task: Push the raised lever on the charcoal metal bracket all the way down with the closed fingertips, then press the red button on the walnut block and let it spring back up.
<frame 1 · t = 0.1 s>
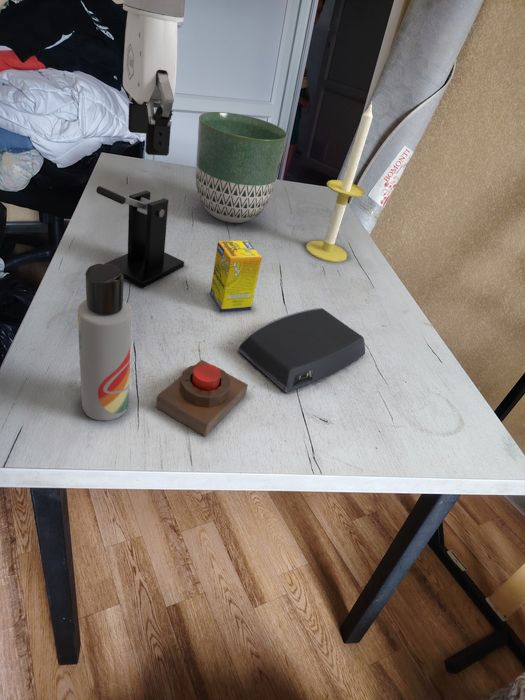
hand: (147, 143, 70), 25 cm above the table, tool pointing down, fingers open, 9 cm apart
supplement box: (229, 303, 87), on the table
lever bracket: (145, 268, 91), on the table
toaster lever: (132, 202, 79), point 14 cm above the table, hinge at 25.0°
candle: (326, 252, 113), on the table
lotion bottle: (105, 406, 62), on the table
button block: (202, 401, 66), on the table
cancel button: (206, 377, 63), point 4 cm above the table, slide at 0.1 cm
planter: (229, 218, 117), on the table
hard drive: (302, 354, 79), on the table
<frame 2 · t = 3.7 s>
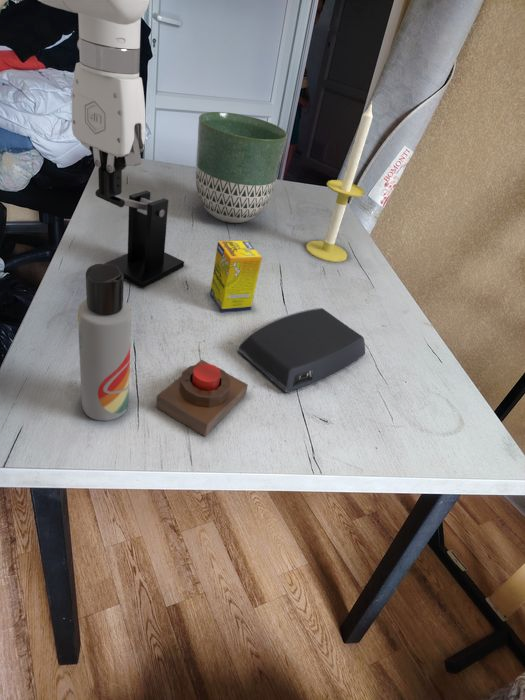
hand: (110, 193, 74), 16 cm above the table, tool pointing down, fingers closed
toaster lever: (131, 203, 79), point 14 cm above the table, hinge at 22.1°, touching gripper
everything else where it was.
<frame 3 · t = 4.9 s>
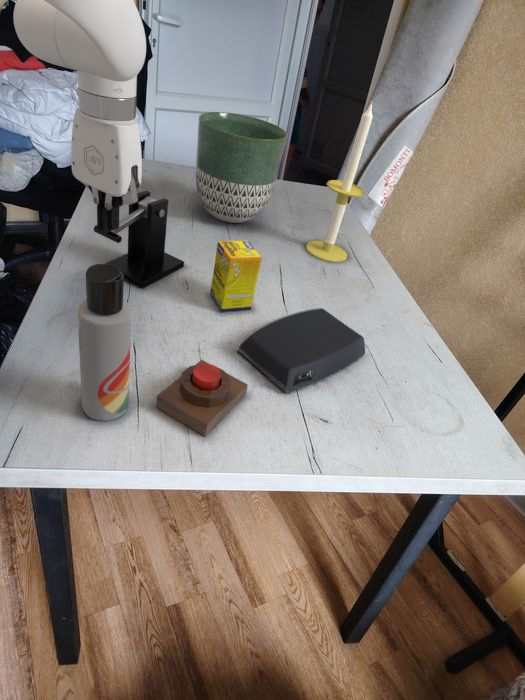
hand: (108, 228, 77), 11 cm above the table, tool pointing down, fingers closed
toaster lever: (130, 219, 81), point 11 cm above the table, hinge at -12.2°, touching gripper
everything else where it was.
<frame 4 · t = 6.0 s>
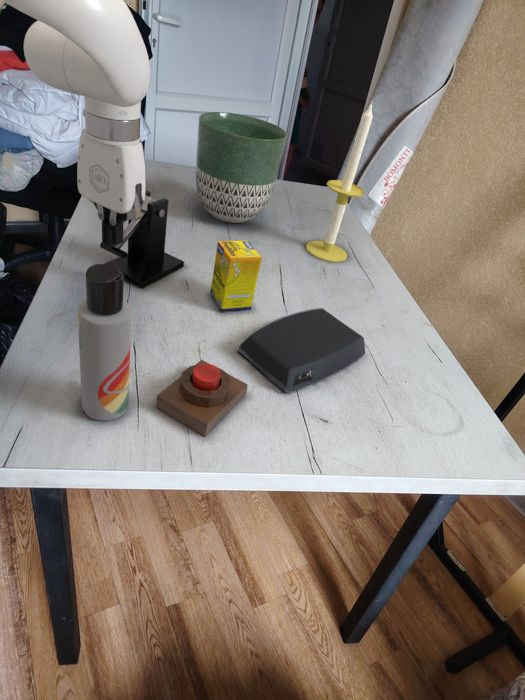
hand: (112, 242, 79), 8 cm above the table, tool pointing down, fingers closed
toaster lever: (132, 226, 82), point 10 cm above the table, hinge at -32.7°, touching gripper
everything else where it was.
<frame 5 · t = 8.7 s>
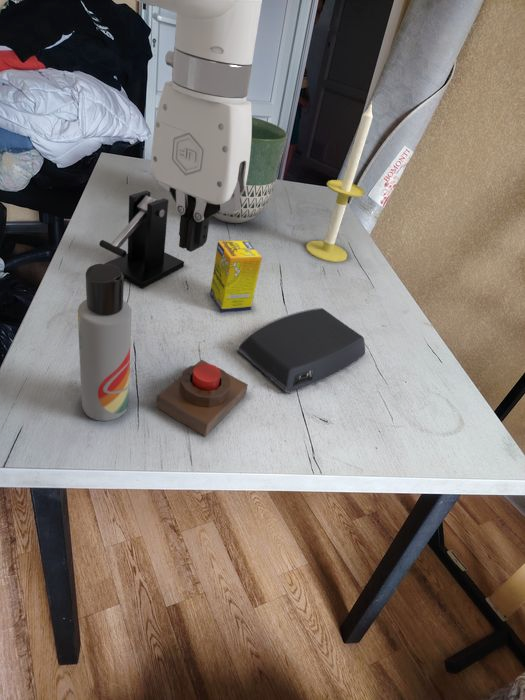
hand: (191, 245, 58), 20 cm above the table, tool pointing down, fingers closed
toaster lever: (132, 226, 82), point 10 cm above the table, hinge at -30.8°
everything else where it was.
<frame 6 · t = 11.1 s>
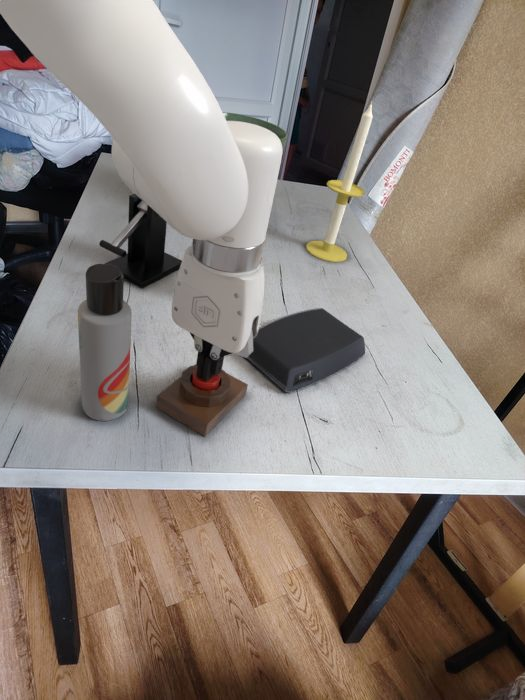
hand: (208, 373, 63), 5 cm above the table, tool pointing down, fingers closed
cancel button: (206, 379, 63), point 4 cm above the table, slide at -0.3 cm, touching gripper
everything else where it was.
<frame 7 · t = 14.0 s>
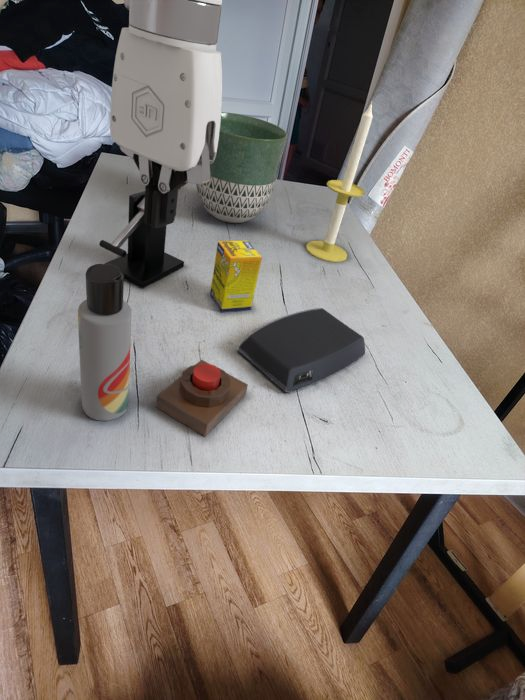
hand: (159, 222, 52), 24 cm above the table, tool pointing down, fingers closed
cancel button: (206, 377, 63), point 4 cm above the table, slide at 0.1 cm
everything else where it was.
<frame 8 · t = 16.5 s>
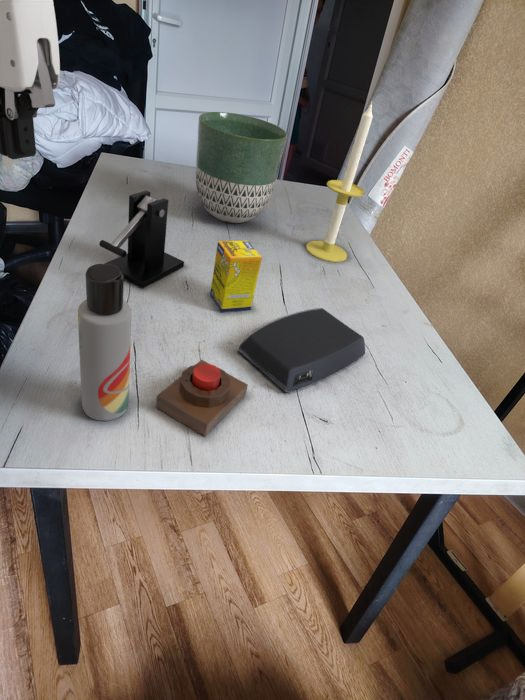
hand: (18, 154, 51), 27 cm above the table, tool pointing down, fingers closed
nothing on the table moved.
at the end: toaster lever at -31° (first picture: +25°); cancel button pushed in 1.1 cm at the most during the clip, back to where it started at the end; cancel button slide at 0.1 cm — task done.
